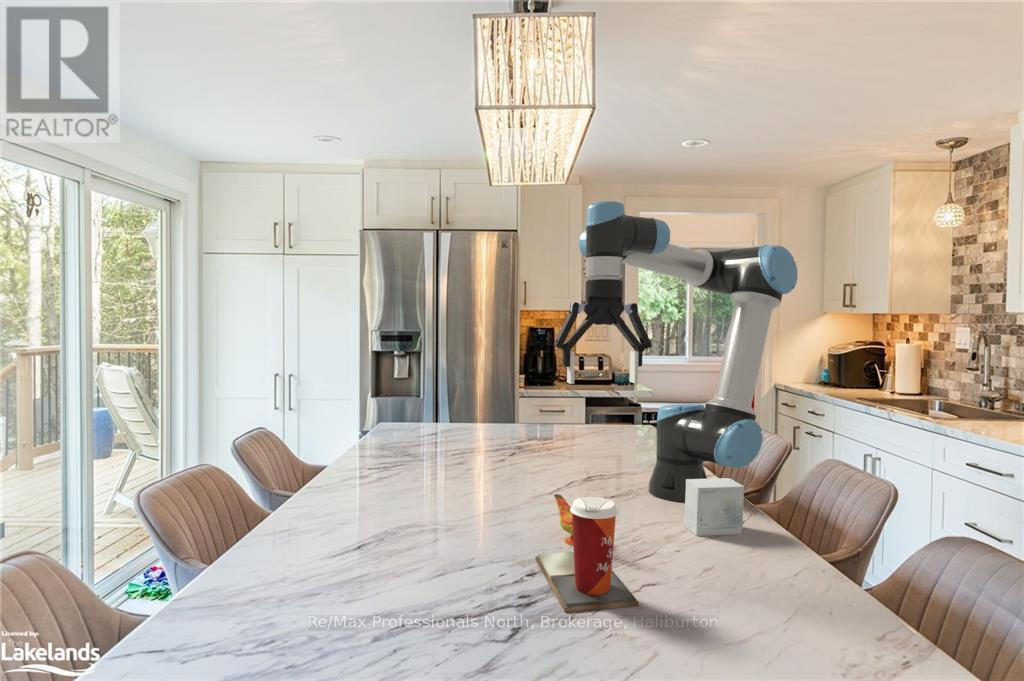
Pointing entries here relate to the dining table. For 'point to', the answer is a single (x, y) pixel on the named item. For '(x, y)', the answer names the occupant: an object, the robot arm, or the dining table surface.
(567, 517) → the magic lamp
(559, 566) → the wooden framed mirror
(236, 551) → the dining table surface
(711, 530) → the skincare box
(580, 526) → the paper cup
